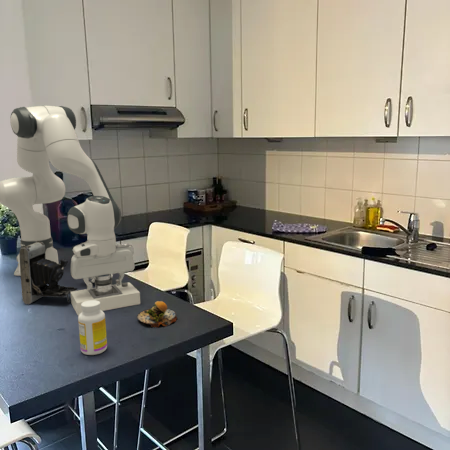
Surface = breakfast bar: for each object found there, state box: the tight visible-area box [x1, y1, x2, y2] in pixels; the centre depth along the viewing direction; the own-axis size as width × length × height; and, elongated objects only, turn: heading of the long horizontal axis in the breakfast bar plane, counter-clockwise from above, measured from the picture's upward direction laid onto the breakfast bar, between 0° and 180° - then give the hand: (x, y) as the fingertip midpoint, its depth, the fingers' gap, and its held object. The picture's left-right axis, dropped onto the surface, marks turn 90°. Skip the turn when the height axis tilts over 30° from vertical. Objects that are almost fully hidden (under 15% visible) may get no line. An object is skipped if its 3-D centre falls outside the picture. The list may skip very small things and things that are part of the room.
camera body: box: [69, 282, 141, 316], centre depth 150 cm, size 12×20×5 cm, turn 118°
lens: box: [94, 274, 113, 296], centre depth 149 cm, size 6×6×10 cm
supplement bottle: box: [77, 300, 108, 356], centre depth 116 cm, size 7×7×13 cm
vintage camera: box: [18, 241, 78, 305], centre depth 151 cm, size 10×16×20 cm, turn 79°
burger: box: [136, 300, 177, 329], centre depth 136 cm, size 12×12×8 cm
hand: (104, 287), depth 149 cm, fingers open, 8 cm apart
